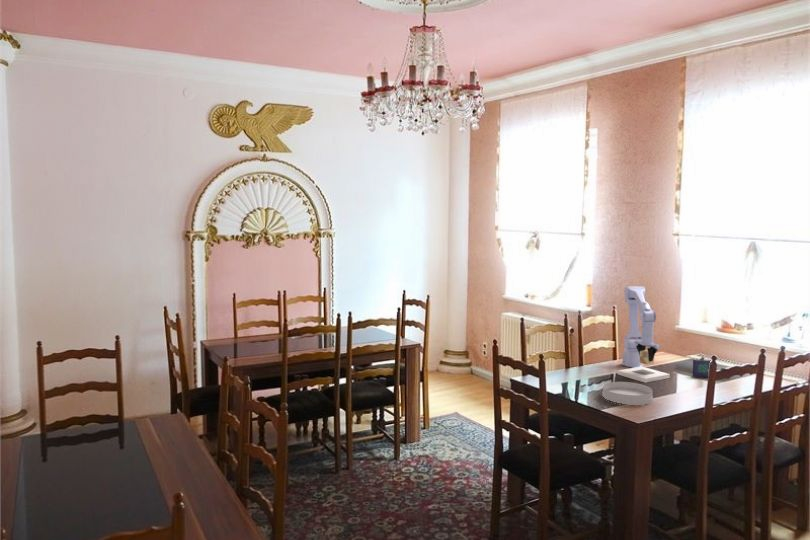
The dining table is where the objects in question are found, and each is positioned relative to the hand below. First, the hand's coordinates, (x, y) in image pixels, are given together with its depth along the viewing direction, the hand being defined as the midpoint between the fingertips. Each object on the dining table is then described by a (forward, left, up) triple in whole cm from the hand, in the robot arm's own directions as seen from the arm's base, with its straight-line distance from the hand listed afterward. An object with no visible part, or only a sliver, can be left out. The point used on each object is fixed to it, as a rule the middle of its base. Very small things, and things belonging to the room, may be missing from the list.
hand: (646, 360), depth 332 cm
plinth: (0, -1, -8) cm, 9 cm away
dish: (+23, -38, -9) cm, 45 cm away
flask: (+15, +25, -9) cm, 30 cm away
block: (0, 0, -2) cm, 2 cm away
